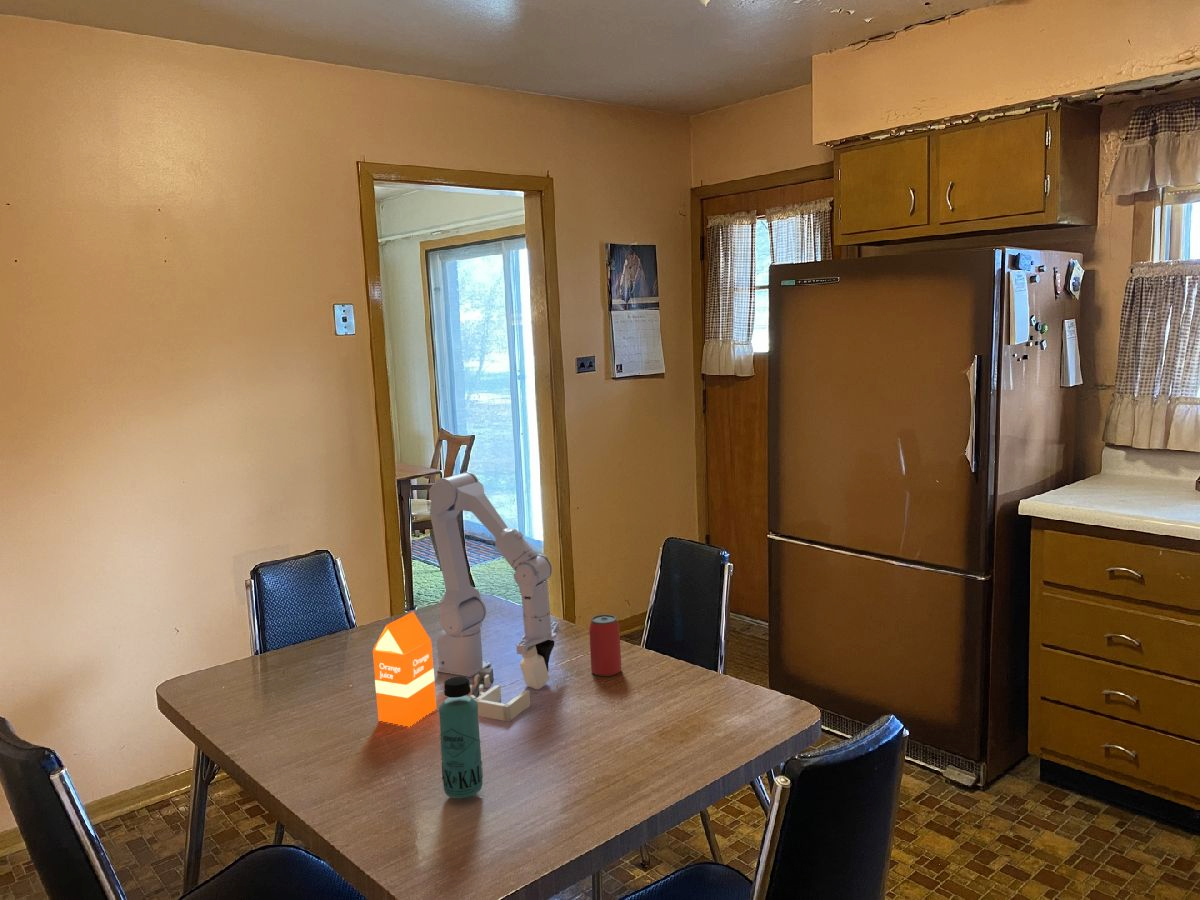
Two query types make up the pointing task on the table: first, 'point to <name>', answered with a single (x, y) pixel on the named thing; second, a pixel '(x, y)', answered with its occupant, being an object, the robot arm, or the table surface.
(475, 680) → the clips
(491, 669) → the cable route
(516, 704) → the end holder
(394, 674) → the orange juice
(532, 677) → the pepper shaker
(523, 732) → the table surface
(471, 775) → the beverage bottle
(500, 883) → the table surface
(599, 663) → the beer can
